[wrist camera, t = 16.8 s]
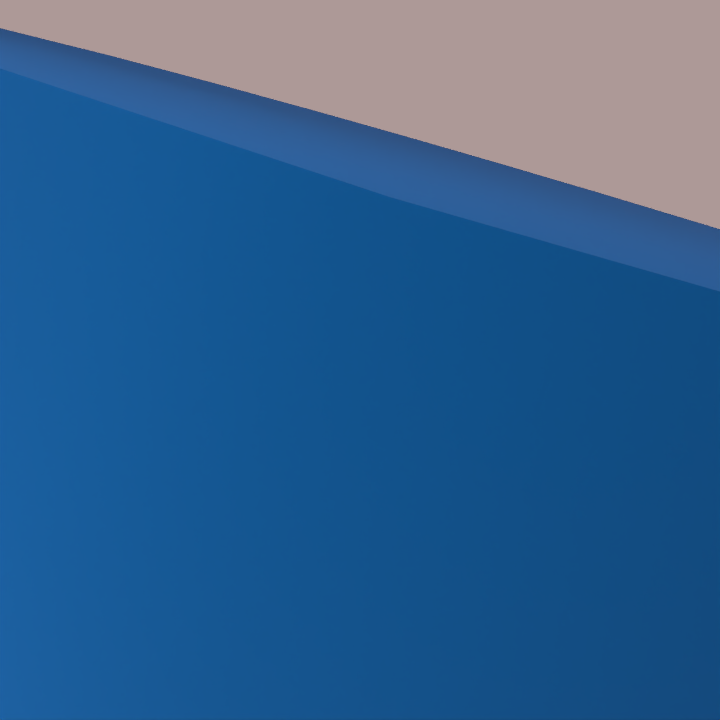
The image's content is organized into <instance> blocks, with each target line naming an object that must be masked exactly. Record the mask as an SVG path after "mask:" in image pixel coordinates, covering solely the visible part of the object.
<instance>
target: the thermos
mask: <svg viewBox="0 0 720 720" xmlns="http://www.w3.org/2000/svg"><path fill="white" fill-rule="evenodd" d="M0 720H720V229H717V228H713V227H710V226H707V225H704V224H701V223H697V222H694V221H691V220H687V219H684V218H681V217H677V216H674V215H671V214H667V213H664V212H661V211H657V210H654V209H651V208H648V207H644V206H641V205H637V204H634V203H631V202H628V201H624V200H621V199H618V198H614V197H611V196H608V195H604V194H601V193H598V192H594V191H591V190H587V189H584V188H580V187H577V186H574V185H570V184H567V183H564V182H560V181H557V180H553V179H550V178H547V177H543V176H540V175H537V174H533V173H530V172H527V171H523V170H520V169H516V168H513V167H509V166H506V165H503V164H499V163H496V162H492V161H489V160H485V159H481V158H479V157H475V156H472V155H468V154H465V153H461V152H458V151H454V150H451V149H447V148H444V147H440V146H437V145H433V144H430V143H427V142H423V141H420V140H416V139H413V138H409V137H406V136H402V135H398V134H395V133H391V132H388V131H384V130H381V129H377V128H374V127H370V126H367V125H363V124H359V123H356V122H352V121H349V120H345V119H342V118H338V117H335V116H331V115H327V114H324V113H321V112H317V111H313V110H310V109H306V108H302V107H299V106H295V105H292V104H288V103H284V102H281V101H277V100H273V99H269V98H266V97H262V96H259V95H255V94H251V93H248V92H244V91H241V90H237V89H233V88H230V87H226V86H222V85H219V84H215V83H211V82H208V81H203V80H200V79H196V78H192V77H189V76H185V75H181V74H177V73H174V72H170V71H166V70H162V69H158V68H154V67H151V66H147V65H143V64H140V63H136V62H132V61H128V60H124V59H121V58H117V57H113V56H109V55H105V54H101V53H97V52H93V51H89V50H85V49H81V48H77V47H73V46H69V45H65V44H61V43H57V42H53V41H49V40H45V39H41V38H37V37H33V36H29V35H25V34H21V33H17V32H13V31H9V30H5V29H1V28H0Z"/></svg>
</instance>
